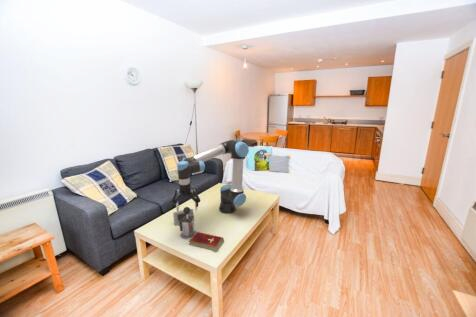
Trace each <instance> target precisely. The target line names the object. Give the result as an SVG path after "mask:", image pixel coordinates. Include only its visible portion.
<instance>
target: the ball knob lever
mask: <svg viewBox="0 0 476 317" xmlns="http://www.w3.org/2000/svg"><path fill="white" fill-rule="evenodd" d="M190 209H191V208H190V207H188V206H185V207H183V209H182V210H183V212H184V213H185V214H186V217H187V219H188V214H189V213H190Z"/></svg>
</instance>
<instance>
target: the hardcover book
mask: <svg viewBox="0 0 476 317" xmlns="http://www.w3.org/2000/svg"><path fill="white" fill-rule="evenodd" d="M196 232H197V233H196V234H195V235H194V236H193V237H192V238H191V239H188V241H187V242H188V245H191V246H196V247H199V248H203V249H207V250H211V251H213V252H217V251H218V249H219V248H220V247H221V245H222V244H223V243H224V237H223V236H218V235H215V234H214V235H213V234H209V233H204V232H200V231H196Z"/></svg>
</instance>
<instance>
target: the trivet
mask: <svg viewBox="0 0 476 317" xmlns="http://www.w3.org/2000/svg"><path fill="white" fill-rule="evenodd" d="M197 232H198V231H196V229H194V235H195V234H196V233H197ZM194 235H193V236H194ZM193 236H192V237H193ZM192 237H184V236H183V231H181V233H180V238H182V239H184V240H190V239H191V238H192Z"/></svg>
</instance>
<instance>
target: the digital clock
mask: <svg viewBox="0 0 476 317" xmlns="http://www.w3.org/2000/svg"><path fill="white" fill-rule="evenodd" d="M172 215H173V224H174V226H176V227H177V226H180V223H179V221H180V220H182V218H183V217H184V216H186V214H185V213H184V212H183V209H181V210H179V211H178V212H177V211H174V212H173V213H172ZM188 216H194V218H193V221H194V222H195V214H194V209H193V208H190V213H189V214H188Z"/></svg>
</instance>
